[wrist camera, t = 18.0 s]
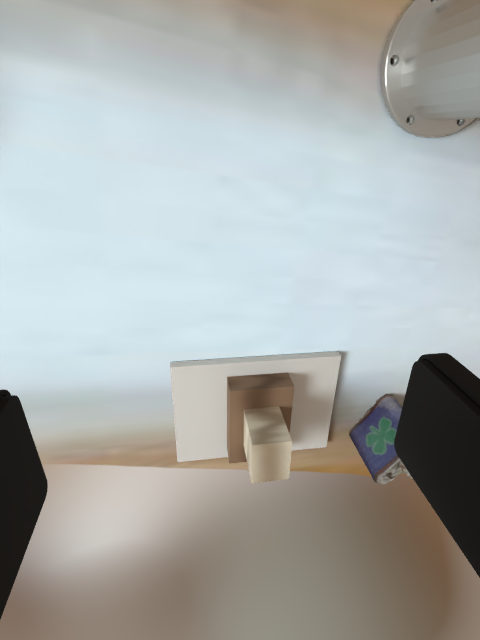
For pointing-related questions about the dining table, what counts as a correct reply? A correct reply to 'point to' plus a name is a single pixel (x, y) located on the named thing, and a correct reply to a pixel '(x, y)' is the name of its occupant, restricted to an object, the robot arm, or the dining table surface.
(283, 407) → the plinth
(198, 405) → the plate
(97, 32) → the dining table surface
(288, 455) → the birch block
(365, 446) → the flask
